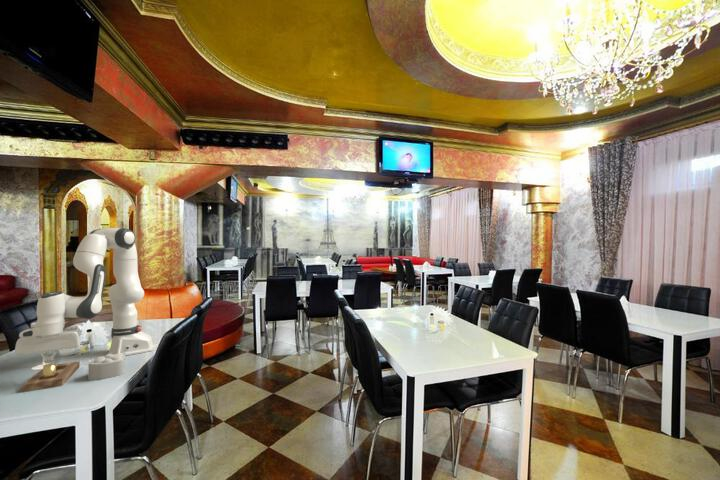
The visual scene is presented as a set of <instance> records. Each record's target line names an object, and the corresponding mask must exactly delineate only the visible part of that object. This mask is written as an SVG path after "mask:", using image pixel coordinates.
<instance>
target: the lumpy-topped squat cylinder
mask: <svg viewBox="0 0 720 480" xmlns="http://www.w3.org/2000/svg"><path fill="white" fill-rule="evenodd" d="M125 366H126V356H125V355H122V354H115V355H113V354H108V353H107V354H105V355H103V356H98V357H96V358H95V359H93V360H91V361H89V362H88V371H87V372H88V373H87V374H88V375H87V379H88V381H89V380H90V381H102V380H107V378H108V379H111V378H112V379H113V378H116V376H117V377H120V376H123V375H124V374H125Z"/></svg>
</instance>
